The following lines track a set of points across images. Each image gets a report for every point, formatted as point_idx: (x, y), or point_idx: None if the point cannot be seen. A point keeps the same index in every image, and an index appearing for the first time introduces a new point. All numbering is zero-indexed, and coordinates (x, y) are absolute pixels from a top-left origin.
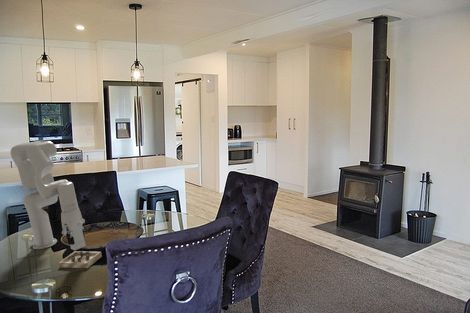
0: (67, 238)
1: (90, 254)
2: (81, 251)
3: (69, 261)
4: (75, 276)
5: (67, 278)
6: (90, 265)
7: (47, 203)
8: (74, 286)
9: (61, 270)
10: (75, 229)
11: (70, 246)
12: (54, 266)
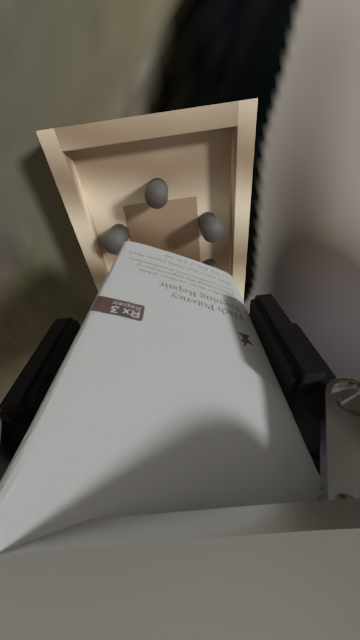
0: (16, 385)
1: (229, 269)
2: (219, 228)
3: (122, 179)
4: (48, 326)
5: (15, 306)
6: None
7: None
8: (6, 370)
9: (36, 195)
10: None
11: (119, 253)
12: (33, 36)
